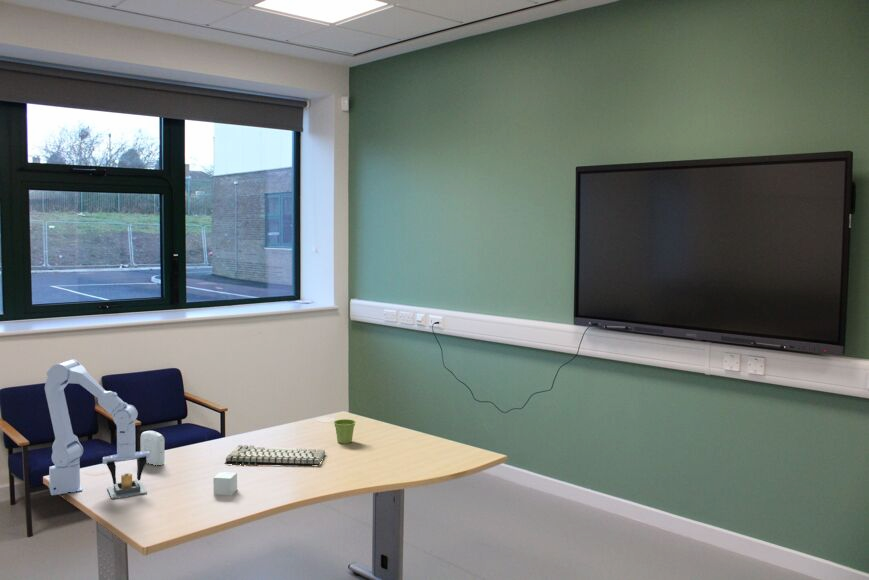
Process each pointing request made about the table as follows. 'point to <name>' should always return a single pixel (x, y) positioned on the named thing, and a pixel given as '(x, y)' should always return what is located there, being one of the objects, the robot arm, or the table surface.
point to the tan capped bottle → (126, 480)
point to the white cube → (225, 483)
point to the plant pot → (344, 430)
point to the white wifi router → (153, 447)
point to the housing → (126, 490)
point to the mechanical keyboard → (274, 456)
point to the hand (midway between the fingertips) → (126, 481)
